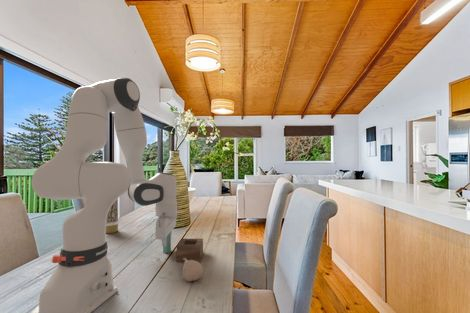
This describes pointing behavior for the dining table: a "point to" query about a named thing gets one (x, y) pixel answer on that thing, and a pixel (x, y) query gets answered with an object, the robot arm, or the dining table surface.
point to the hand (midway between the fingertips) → (166, 243)
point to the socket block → (190, 250)
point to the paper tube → (112, 218)
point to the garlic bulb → (192, 270)
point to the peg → (167, 248)
